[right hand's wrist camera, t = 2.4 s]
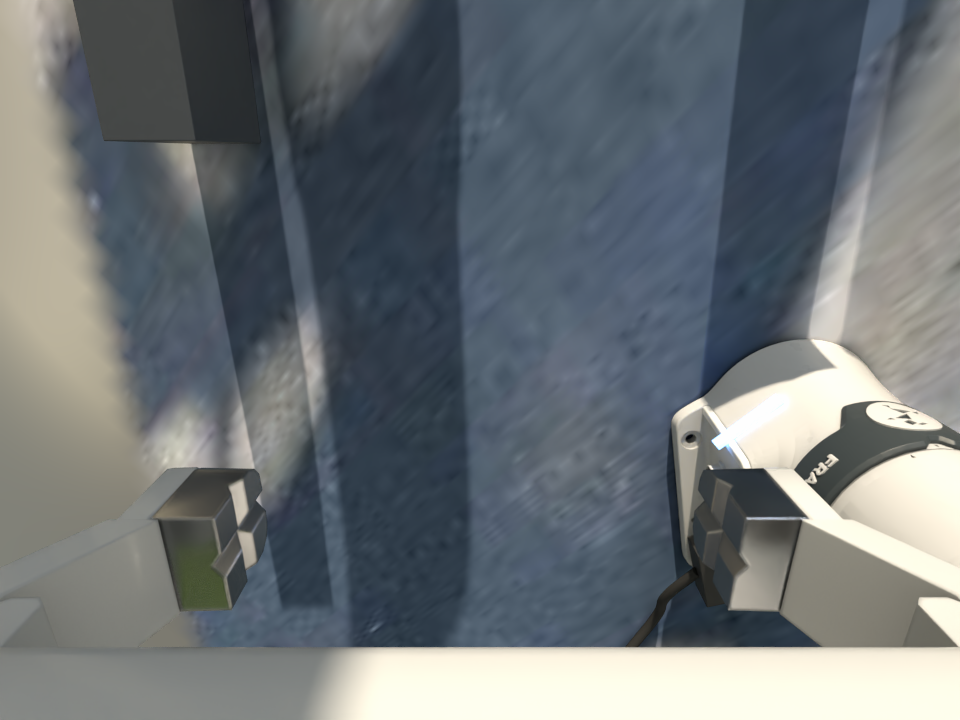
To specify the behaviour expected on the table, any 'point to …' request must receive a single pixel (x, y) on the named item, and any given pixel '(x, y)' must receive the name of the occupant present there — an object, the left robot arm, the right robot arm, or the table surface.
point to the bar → (170, 70)
